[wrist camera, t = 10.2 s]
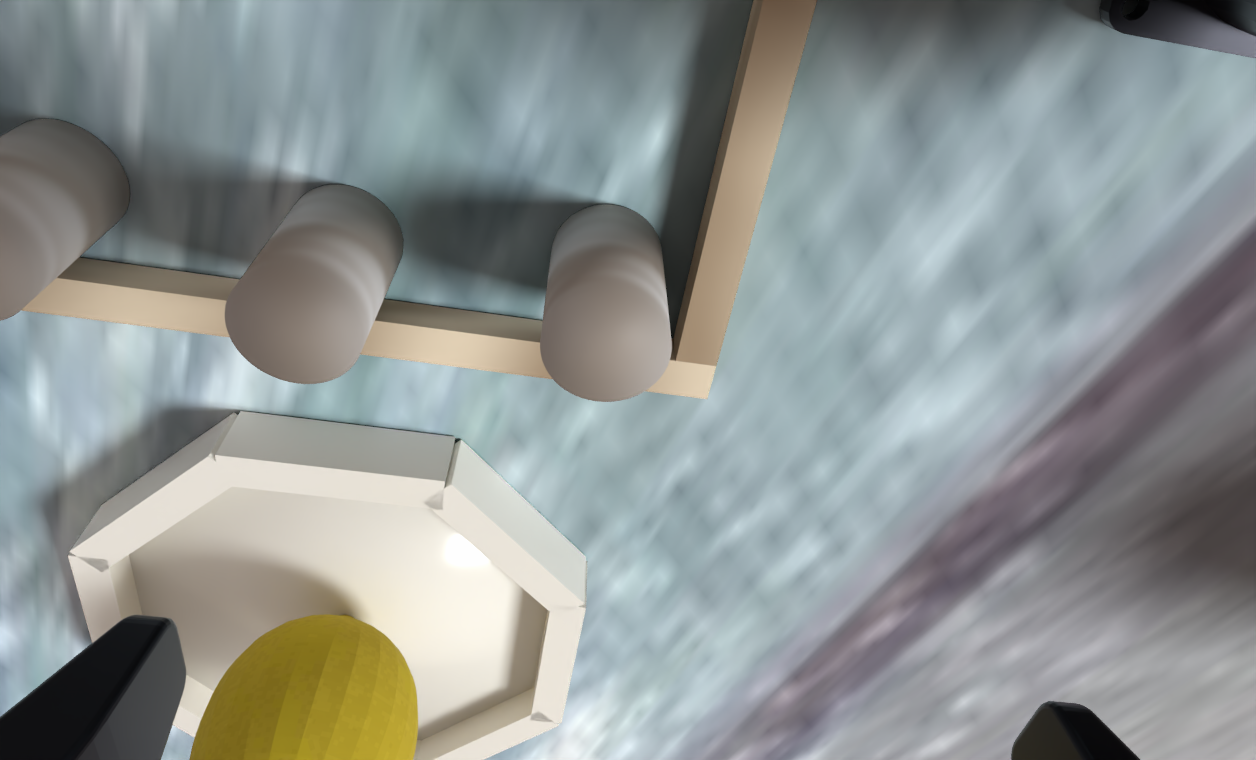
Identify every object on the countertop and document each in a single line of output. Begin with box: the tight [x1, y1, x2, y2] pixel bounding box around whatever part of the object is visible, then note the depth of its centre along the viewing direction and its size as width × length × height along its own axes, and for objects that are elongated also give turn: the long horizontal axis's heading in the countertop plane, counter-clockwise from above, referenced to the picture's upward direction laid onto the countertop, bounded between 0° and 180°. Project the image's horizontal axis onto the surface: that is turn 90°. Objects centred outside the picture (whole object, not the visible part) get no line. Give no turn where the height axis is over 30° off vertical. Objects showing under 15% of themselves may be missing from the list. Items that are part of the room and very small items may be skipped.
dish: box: [68, 411, 587, 760], centre depth 26 cm, size 14×14×2 cm
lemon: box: [190, 614, 418, 760], centre depth 23 cm, size 6×6×8 cm
